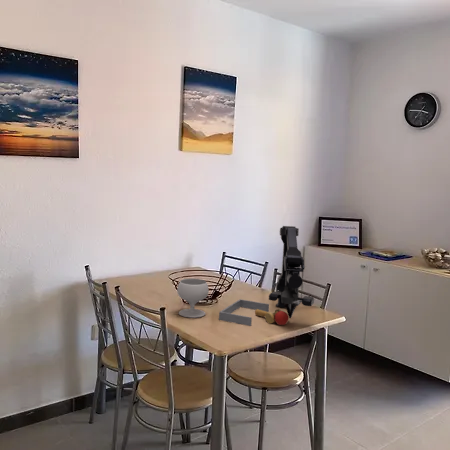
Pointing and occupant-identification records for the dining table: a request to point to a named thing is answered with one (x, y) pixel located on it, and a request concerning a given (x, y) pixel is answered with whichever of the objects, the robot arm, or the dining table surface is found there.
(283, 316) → the kendama
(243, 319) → the box
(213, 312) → the dining table surface
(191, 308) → the chalice
